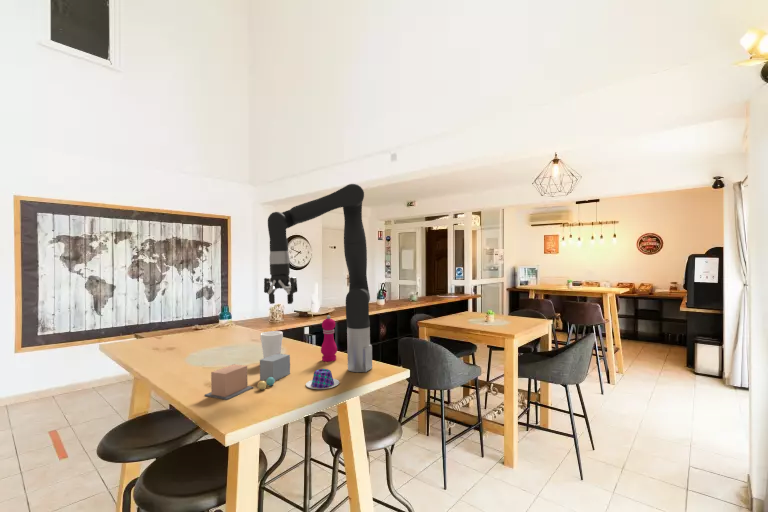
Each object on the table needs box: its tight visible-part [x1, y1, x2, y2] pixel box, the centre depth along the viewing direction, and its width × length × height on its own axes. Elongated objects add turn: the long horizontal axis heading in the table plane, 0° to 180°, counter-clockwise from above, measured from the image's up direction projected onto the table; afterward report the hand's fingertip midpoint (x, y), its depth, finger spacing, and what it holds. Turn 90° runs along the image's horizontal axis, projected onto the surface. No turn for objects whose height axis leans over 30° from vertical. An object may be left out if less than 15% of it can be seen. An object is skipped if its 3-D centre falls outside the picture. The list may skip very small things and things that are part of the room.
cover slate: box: [259, 353, 291, 382], centre depth 146 cm, size 6×10×8 cm, turn 157°
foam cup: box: [259, 330, 284, 359], centre depth 165 cm, size 10×9×13 cm
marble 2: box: [265, 377, 276, 387], centre depth 136 cm, size 3×3×3 cm
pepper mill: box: [320, 314, 338, 363], centre depth 169 cm, size 7×7×20 cm
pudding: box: [305, 368, 340, 390], centre depth 136 cm, size 12×12×5 cm
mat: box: [204, 385, 254, 401], centre depth 130 cm, size 10×12×1 cm
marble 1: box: [257, 380, 268, 391], centre depth 132 cm, size 3×3×3 cm
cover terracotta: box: [210, 363, 249, 397], centre depth 130 cm, size 6×10×8 cm, turn 157°
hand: (281, 303), depth 150 cm, fingers open, 8 cm apart
